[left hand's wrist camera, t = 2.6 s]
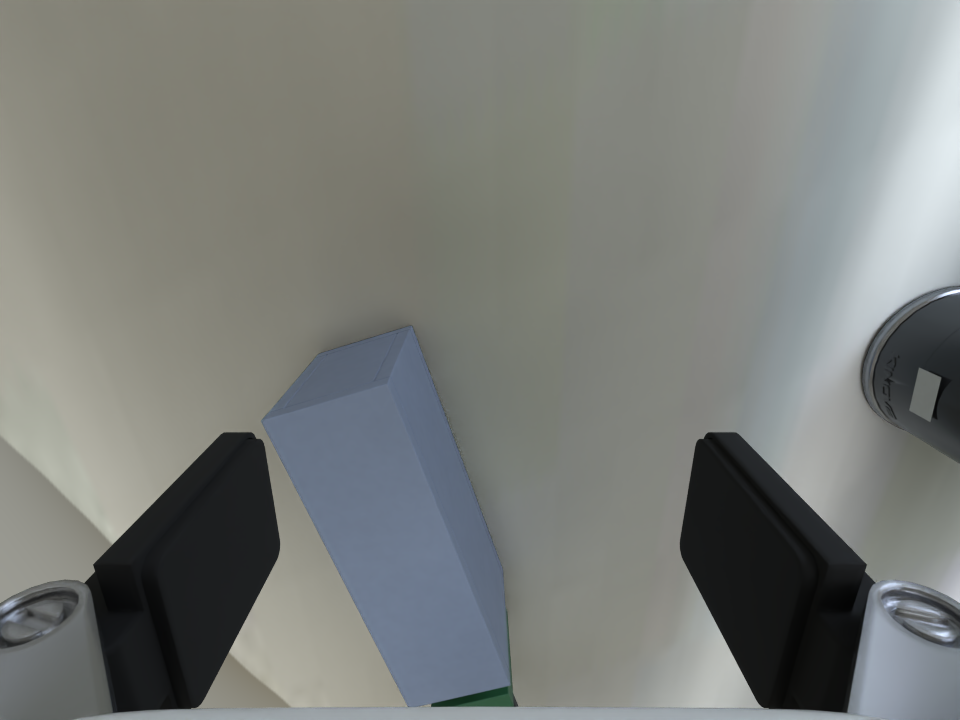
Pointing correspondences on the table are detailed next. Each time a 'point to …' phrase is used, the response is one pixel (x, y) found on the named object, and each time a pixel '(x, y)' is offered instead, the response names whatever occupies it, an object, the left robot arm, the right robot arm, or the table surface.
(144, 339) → the table surface
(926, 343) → the right robot arm
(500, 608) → the blue-grey rectangular block
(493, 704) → the drawer
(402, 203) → the table surface
